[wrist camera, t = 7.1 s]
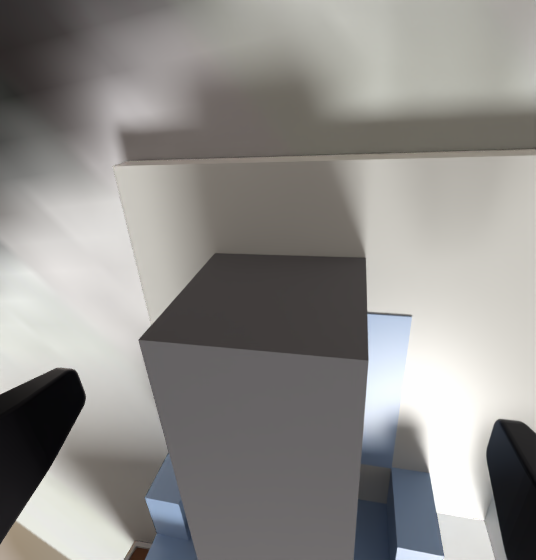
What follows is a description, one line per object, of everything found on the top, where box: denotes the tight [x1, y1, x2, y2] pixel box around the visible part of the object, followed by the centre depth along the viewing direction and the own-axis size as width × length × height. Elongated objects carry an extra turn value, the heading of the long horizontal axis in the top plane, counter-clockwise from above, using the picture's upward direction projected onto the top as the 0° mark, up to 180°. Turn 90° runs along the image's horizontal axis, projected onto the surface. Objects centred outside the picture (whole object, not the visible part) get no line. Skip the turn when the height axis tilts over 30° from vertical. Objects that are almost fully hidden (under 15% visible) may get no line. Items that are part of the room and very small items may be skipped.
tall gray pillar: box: [139, 253, 369, 560], centre depth 10 cm, size 4×9×4 cm, turn 4°
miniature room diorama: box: [112, 149, 536, 560], centre depth 9 cm, size 20×13×4 cm, turn 94°
